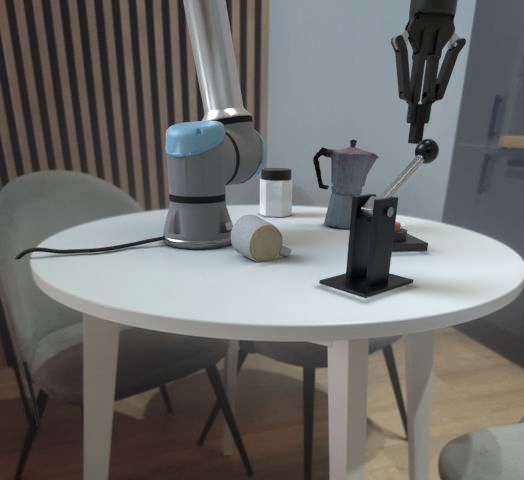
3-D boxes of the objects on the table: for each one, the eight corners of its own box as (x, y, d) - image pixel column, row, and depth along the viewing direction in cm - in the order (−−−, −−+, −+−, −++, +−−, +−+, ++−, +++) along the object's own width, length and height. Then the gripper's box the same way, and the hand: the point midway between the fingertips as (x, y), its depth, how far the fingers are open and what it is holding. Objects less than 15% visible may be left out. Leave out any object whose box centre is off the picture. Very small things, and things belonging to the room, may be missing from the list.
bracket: (367, 274, 85) (376, 190, 79) (412, 286, 79) (425, 196, 73) (319, 287, 78) (324, 196, 72) (363, 302, 72) (374, 204, 66)
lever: (425, 153, 80) (421, 133, 78) (445, 155, 78) (441, 134, 75) (362, 223, 75) (355, 204, 73) (381, 226, 73) (375, 207, 71)
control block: (369, 256, 97) (371, 235, 95) (352, 244, 106) (354, 225, 104) (426, 254, 99) (429, 233, 97) (405, 242, 108) (407, 224, 106)
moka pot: (375, 230, 120) (384, 140, 111) (311, 229, 120) (315, 139, 112) (368, 223, 128) (376, 139, 120) (308, 222, 129) (312, 138, 120)
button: (385, 233, 99) (386, 224, 98) (378, 230, 102) (379, 221, 101) (402, 233, 99) (403, 224, 99) (395, 229, 103) (396, 221, 102)
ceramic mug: (250, 266, 88) (251, 223, 85) (229, 256, 95) (229, 215, 92) (299, 260, 93) (302, 219, 90) (277, 251, 100) (278, 212, 96)
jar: (273, 211, 144) (274, 167, 139) (296, 214, 139) (298, 169, 134) (253, 215, 137) (254, 169, 132) (277, 218, 133) (278, 171, 128)
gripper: (408, -20, 77) (389, 144, 87) (484, -15, 79) (457, 144, 89) (389, -9, 84) (373, 142, 94) (459, -5, 86) (437, 142, 96)
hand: (414, 143), depth 91 cm, fingers closed
